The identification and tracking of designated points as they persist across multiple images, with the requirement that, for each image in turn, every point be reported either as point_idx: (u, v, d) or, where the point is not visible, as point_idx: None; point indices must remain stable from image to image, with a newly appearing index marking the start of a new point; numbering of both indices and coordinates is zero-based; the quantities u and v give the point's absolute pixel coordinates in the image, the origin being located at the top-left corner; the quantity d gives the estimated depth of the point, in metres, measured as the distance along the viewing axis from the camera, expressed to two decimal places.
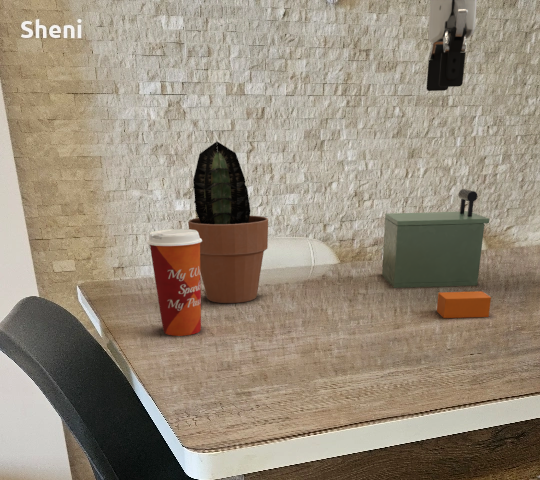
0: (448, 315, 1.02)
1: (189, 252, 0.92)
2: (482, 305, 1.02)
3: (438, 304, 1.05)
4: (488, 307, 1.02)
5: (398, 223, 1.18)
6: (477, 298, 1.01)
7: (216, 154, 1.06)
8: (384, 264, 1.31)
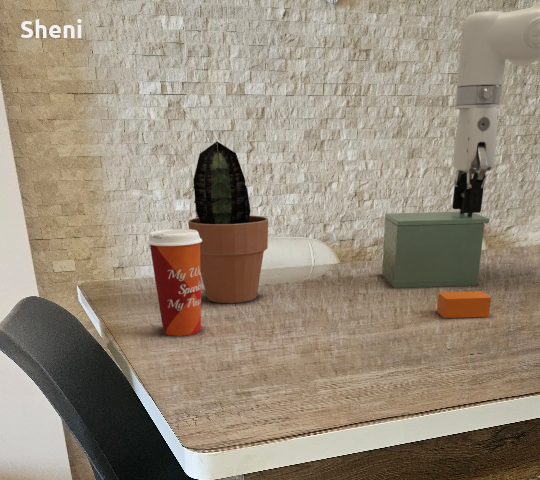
0: (448, 315, 1.02)
1: (189, 252, 0.92)
2: (482, 305, 1.02)
3: (438, 304, 1.05)
4: (488, 307, 1.02)
5: (398, 223, 1.18)
6: (477, 298, 1.01)
7: (216, 154, 1.06)
8: (384, 264, 1.31)
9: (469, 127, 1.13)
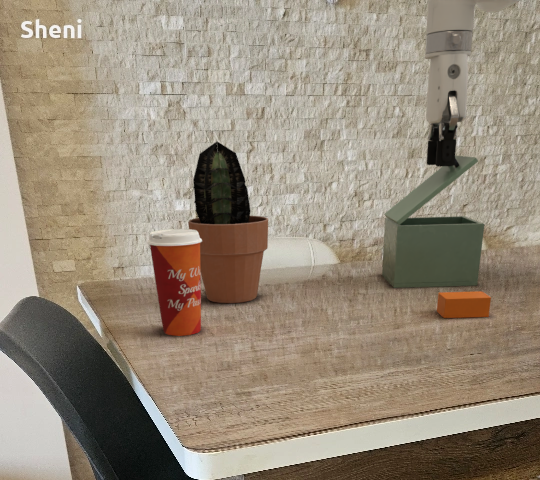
0: (448, 315, 1.02)
1: (189, 252, 0.92)
2: (482, 305, 1.02)
3: (438, 304, 1.05)
4: (488, 307, 1.02)
5: (398, 222, 1.18)
6: (477, 298, 1.01)
7: (216, 154, 1.06)
8: (384, 264, 1.31)
9: (439, 75, 1.10)
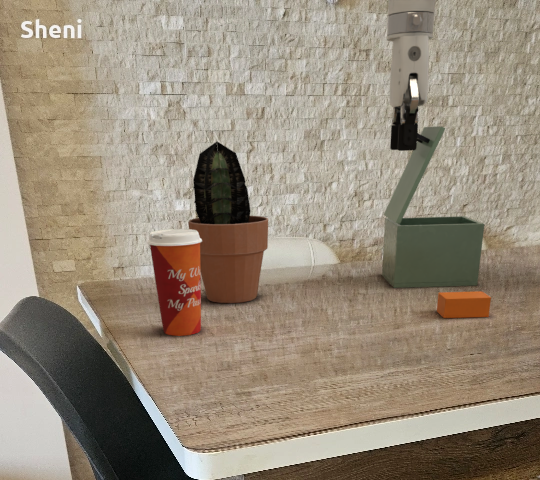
0: (448, 315, 1.02)
1: (189, 252, 0.92)
2: (482, 305, 1.02)
3: (438, 304, 1.05)
4: (488, 307, 1.02)
5: (398, 222, 1.18)
6: (477, 298, 1.01)
7: (216, 154, 1.06)
8: (384, 264, 1.31)
9: (400, 57, 1.09)
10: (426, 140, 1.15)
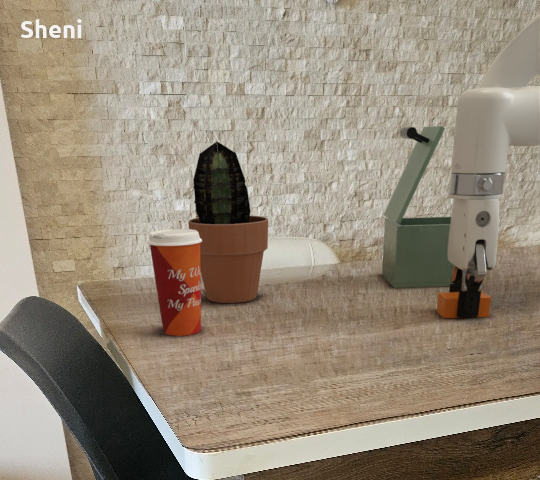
0: (448, 315, 1.02)
1: (189, 252, 0.92)
2: (482, 305, 1.02)
3: (438, 304, 1.05)
4: (488, 307, 1.02)
5: (398, 222, 1.18)
6: None
7: (216, 154, 1.06)
8: (384, 264, 1.31)
9: (466, 222, 0.95)
10: (426, 140, 1.15)
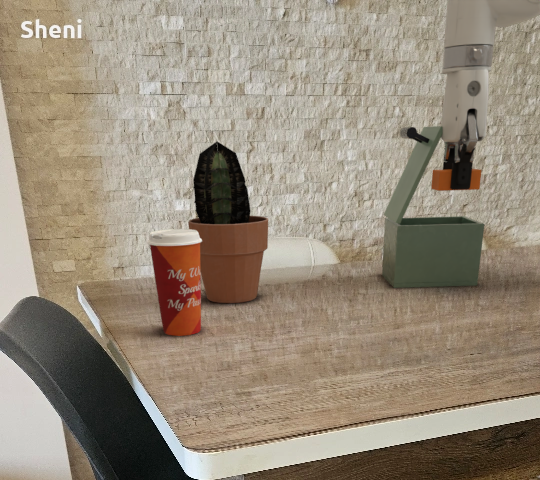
0: (442, 188, 1.11)
1: (189, 252, 0.92)
2: (473, 177, 1.10)
3: (432, 181, 1.14)
4: (479, 179, 1.10)
5: (398, 222, 1.18)
6: None
7: (216, 154, 1.06)
8: (384, 264, 1.31)
9: (458, 92, 1.03)
10: (426, 140, 1.15)
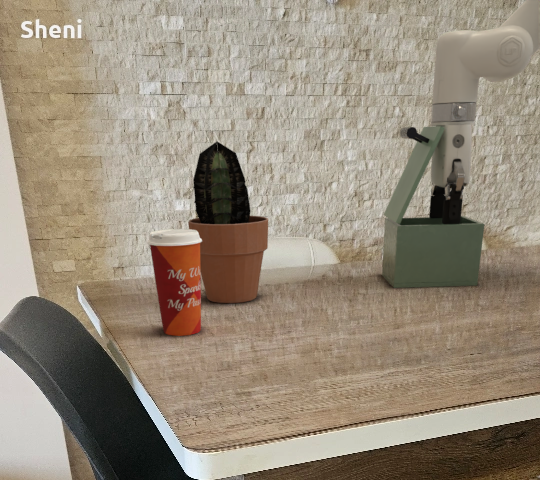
0: None
1: (189, 252, 0.92)
2: None
3: None
4: None
5: (398, 222, 1.18)
6: None
7: (216, 154, 1.06)
8: (384, 264, 1.31)
9: (444, 144, 1.15)
10: (426, 140, 1.15)
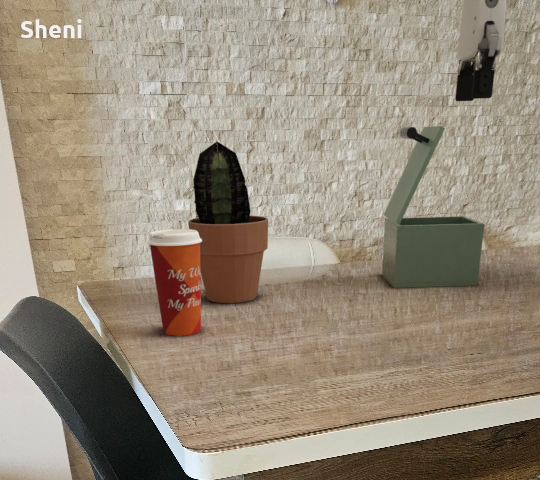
0: None
1: (189, 252, 0.92)
2: None
3: None
4: None
5: (398, 222, 1.18)
6: None
7: (216, 154, 1.06)
8: (384, 264, 1.31)
9: (476, 5, 1.04)
10: (426, 140, 1.15)
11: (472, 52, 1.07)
